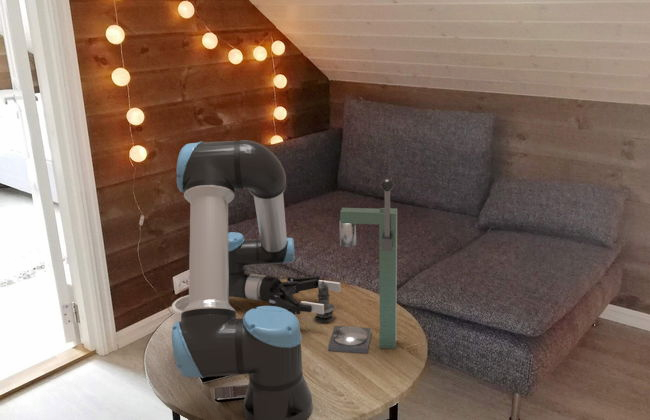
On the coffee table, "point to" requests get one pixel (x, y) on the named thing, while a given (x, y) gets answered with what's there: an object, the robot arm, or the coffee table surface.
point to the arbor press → (387, 220)
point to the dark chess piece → (324, 300)
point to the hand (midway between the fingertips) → (332, 298)
